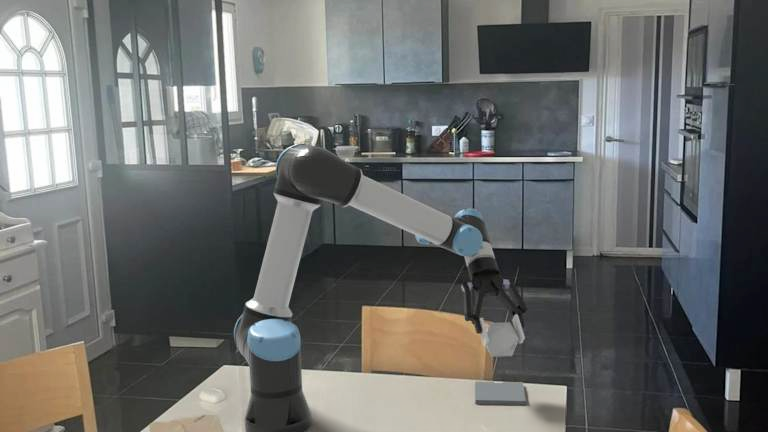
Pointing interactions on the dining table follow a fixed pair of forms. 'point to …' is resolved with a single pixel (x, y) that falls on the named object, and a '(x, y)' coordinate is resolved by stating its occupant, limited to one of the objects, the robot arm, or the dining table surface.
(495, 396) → the slate board
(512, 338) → the die
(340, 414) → the dining table surface
